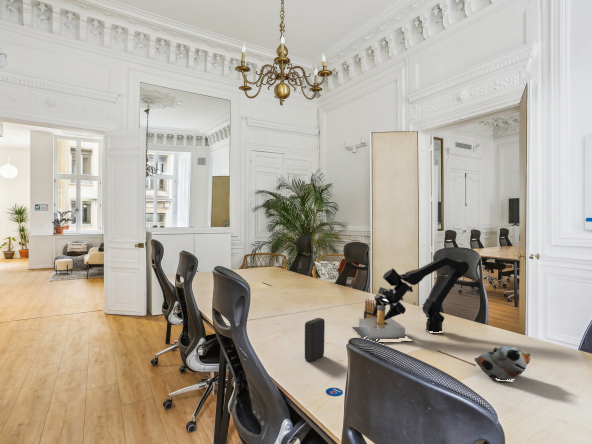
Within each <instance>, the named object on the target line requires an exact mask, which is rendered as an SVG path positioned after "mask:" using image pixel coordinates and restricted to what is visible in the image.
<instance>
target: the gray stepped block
mask: <svg viewBox="0 0 592 444" xmlns="http://www.w3.org/2000/svg"><path fill="white" fill-rule="evenodd" d="M352 328H353V329H354V330H355V331H356V332H357V333H358V334H357V333H356V332H355V331H354V330H353V329H352ZM351 329H352V330H353V331H354V332H355V333H356V334H357V336H359V335H360V336H361V337H360V336H359V337H360V339H362V338H364V337H366V336H367V337H366V338H365V339H369V340H372V341H375V342H378V341H379V340H380V339H399V338H405V335H406V327H405V326H403V325H401V323H399V322H398V321H396V320H395V319H393V318H389V319H387V320H385V325H378V324H377V318H364V317H363V318H359V319H358V326H352V327H351ZM376 339H378V340H377V341H376ZM378 344H383V343H382V342H381V343H380V342H379V343H378Z"/></svg>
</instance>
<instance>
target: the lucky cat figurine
mask: <svg viewBox="0 0 592 444" xmlns="http://www.w3.org/2000/svg"><path fill="white" fill-rule="evenodd" d="M474 361H475V363H476V364H477V366H478V367H479V368H480V369H481V371H482V372H483V373H484V374H486V375H487V376H488V377H489V378H493V379H494V378H497V379H500V380H507V379H508V380H509V379H510V380H511V379H515V378H516V379H517V377H518V376H519V375H522V373H524V372H525V371H526V369H527V368H526V367H527V365H529V364H530V362H531V353H527V352H526V353H524V352H523V351H522V350H521V349H519V348H517V347H515V346H511V345H510V346H508V345H507V346H506V345H503V346H500V347H497V346H495V347H494V348H493V349H492V351H487V352H484V353H482V354H480V355H479V356H478V357H475V358H474ZM516 379H515V380H516Z"/></svg>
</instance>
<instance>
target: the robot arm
mask: <svg viewBox="0 0 592 444" xmlns="http://www.w3.org/2000/svg"><path fill="white" fill-rule="evenodd" d="M446 266H447V267H449V268H448V274H447V276H446V277H445V279H444V280H443V282H442V284H441V285H440V286H439V288H438V289H437V291H436V292H435V294H434V295H433V297H432V298H426V299H425V301H424V303H423V304H422V305H423V306H422V313H424V315H425V317H426V322H425V323H426V325H425V329H426V330H428V331H433V332H439V331H442V332H443V322H444V320H445V317H444V316H443V315H442V314H441V311H442V307H443V303H444V301H445V300H446V298H447V296H448V295H449V293H450V292H451V290H452V289H453V287H454V286H455V285H456V283H457V281H458V279H460V278H462V277H464V276H465V275H466V273H468V272H469V270H470V266H469V263H468V262H467V261H464V260H459V259H455V260H454V259H452V258H448V257H447V256H440V257H439V258H437V259H435V260H434V261H431V262H430V263H428V264H426V265H424V266H422V267H420V268H417V269H412V270H409V271H406V272H405V273H404V274H399V273H398V272H397V271H396V269H394V268H391V269H389V270H388V271H386V272H384V274H383V275H382V279H384V280H385V281H386V283H388V285H389V286H390V287H393V288H389V287H388V288H384V287H382V286H380V287H379V289H378V291H377V294H376V295H375V296H374V302H376V305H375V308H374V311H373V315H375V314H377V306H378V305H382V306H385V307H386V306H389V309H388V311H387V312H386V313H385V317H384V320H387V319H389V318H391V319H393V318H394V317H396V316H398V315H401V314H402V315H404V314H405V313H406V312H407V311H406V307H405V306H404V304H402V303H401V302H400V301H403V300H404V296H406V293H408V292H409V293H410V292H411V293H413V291H414V289H413V286H416V285H418V284H419V283H420V282H421V281H423V279H424V278H426V277H427V276H428V275H430V274H432V273H434V272H436V271H438V270H439V269H443V267H446ZM426 330H425V331H426ZM428 331H427V332H428Z"/></svg>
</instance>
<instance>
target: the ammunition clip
mask: <svg viewBox="0 0 592 444" xmlns="http://www.w3.org/2000/svg"><path fill="white" fill-rule="evenodd" d="M367 299H368V300H367ZM375 305H376V301H375V299H374V300H372V299H370V298H365V302H364V311H363V318H377V314H375V315H373V311H374V308H375Z"/></svg>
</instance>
